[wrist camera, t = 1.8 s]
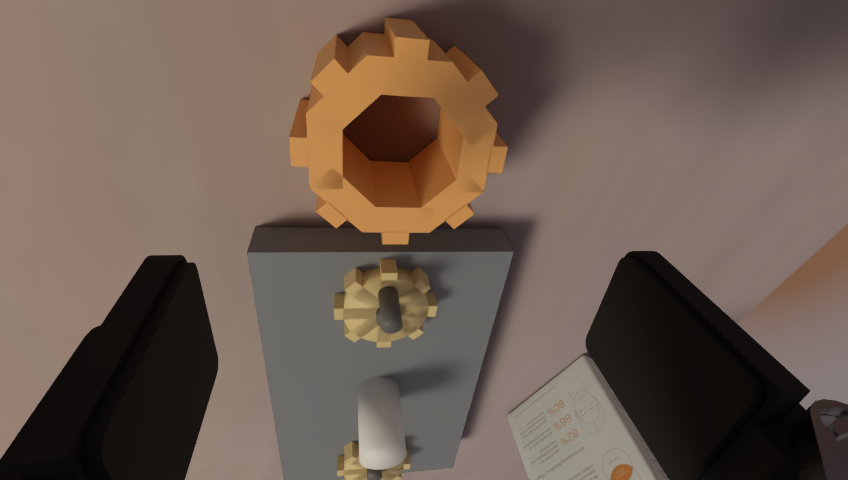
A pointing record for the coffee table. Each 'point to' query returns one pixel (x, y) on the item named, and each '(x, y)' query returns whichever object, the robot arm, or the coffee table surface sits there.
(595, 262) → the coffee table surface
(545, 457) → the small box
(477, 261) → the board
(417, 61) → the gear
